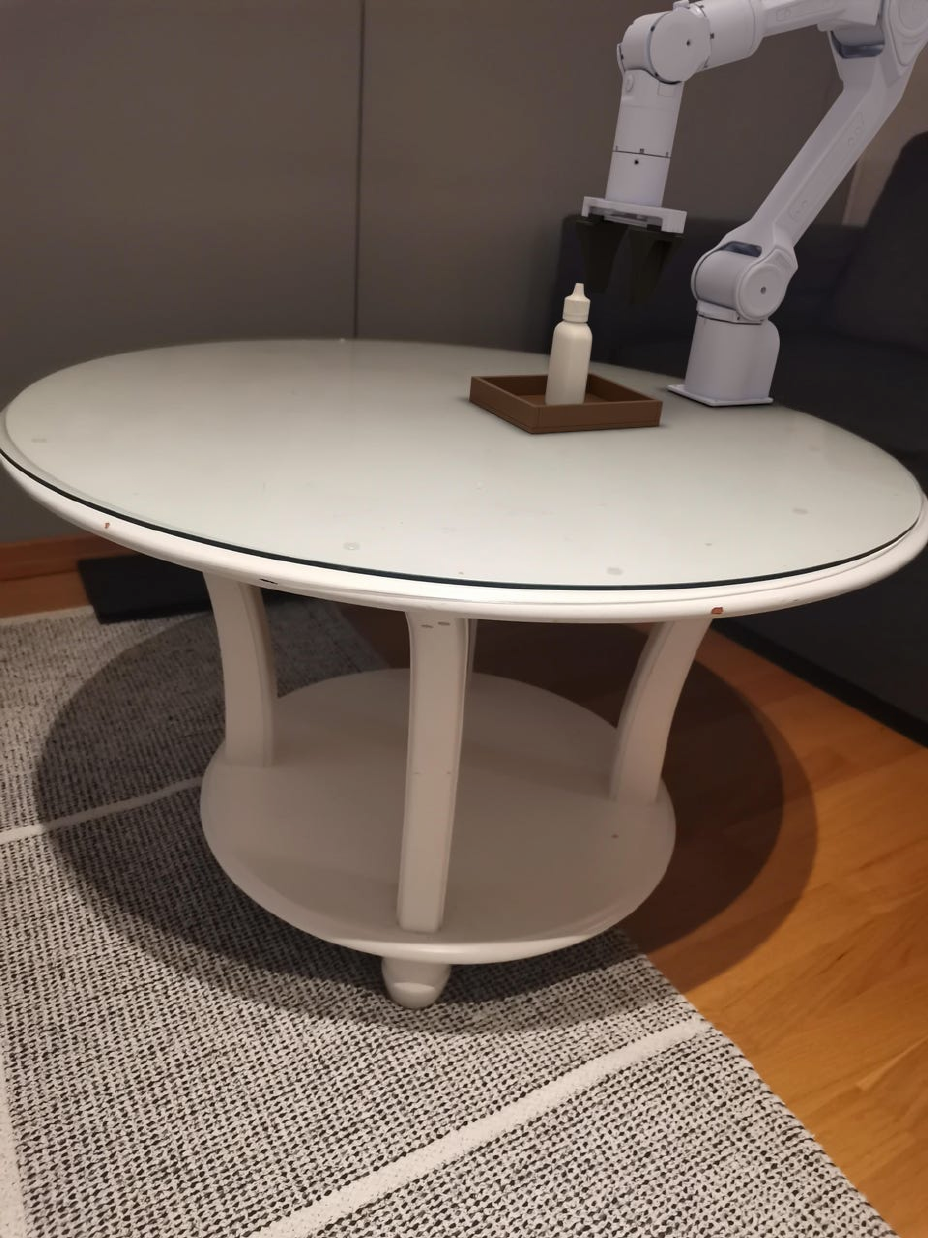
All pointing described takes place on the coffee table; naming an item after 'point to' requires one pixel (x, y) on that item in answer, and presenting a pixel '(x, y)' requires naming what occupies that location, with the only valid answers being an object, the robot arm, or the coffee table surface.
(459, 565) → the coffee table surface
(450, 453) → the coffee table surface
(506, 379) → the tray
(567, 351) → the eye dropper bottle
